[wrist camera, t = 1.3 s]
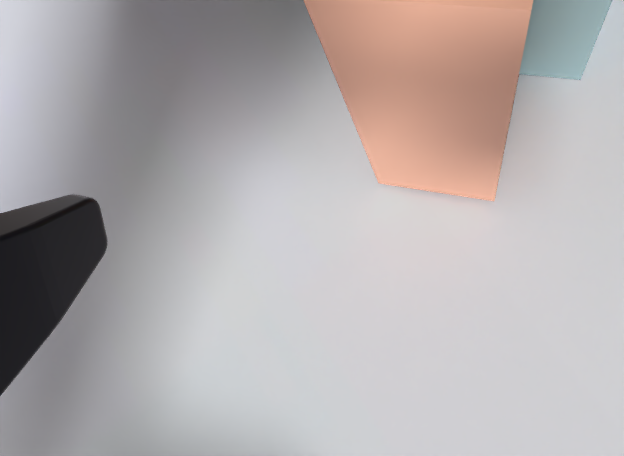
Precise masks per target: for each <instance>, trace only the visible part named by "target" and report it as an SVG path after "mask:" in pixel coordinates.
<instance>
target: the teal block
mask: <svg viewBox="0 0 624 456" xmlns="http://www.w3.org/2000/svg"><path fill="white" fill-rule="evenodd" d="M611 2H612V0H533V5H532V10H531V15H530V20H529V26H528V31H527V36H526V41H525V46H524V51H523V56H522V61H521V67H520V72H519V74H525V75H535V76H546V77H556V78H567V79H577V80H580V79H581V77H582V74H583V72H584V69H585V67H586V64H587V62H588V59H589V57H590V54H591V52H592V49H593V47H594V45H595V42H596V40H597V37H598V35H599V32H600V30H601V27H602V25H603V22H604V20H605V17H606V15H607V12H608V10H609V7H610V5H611Z"/></svg>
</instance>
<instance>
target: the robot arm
mask: <svg viewBox="0 0 624 456" xmlns="http://www.w3.org/2000/svg"><path fill="white" fill-rule="evenodd" d="M106 248H107V236H106V232H105V227H104V223H103V218H102V214H101V209H100V206H99V204H98V203H97V201H96V200H94V199H93V198H89V197H85V196H80V195H67V196H63V197H60V198H56V199H52V200H48V201H45V202H41V203H37V204H34V205H30V206H26V207H22V208H19V209H15V210H11V211H8V212H4V213H0V396H1V395H2V393H3V392H4V391H5V390H6V389H7V387H8V386H9V385H10V384H11V382H12V381H13V380H14V379H15V377H16V376H17V375H18V374H19V372H20V371H21V370H22V369H23V367H24V366H25V365H26V364H27V363H28V361H29V360H30V359H31V358H32V356H33V355H34V354H35V353H36V351H37V350H38V349H39V348H40V346H41V345H42V344H43V343H44V342H45V340H46V339H47V338H48V337H49V335H50V334H51V333H52V331H53V330H54V329H55V327H56V326H57V325H58V323H59V322H60V321H61V319H62V318H63V316H64V315H65V313H66V312H67V310H68V309H69V307H70V306H71V304H72V303H73V301H74V300H75V298H76V297H77V295H78V294H79V292H80V291H81V289H82V288H83V286H84V284H85V283H86V281H87V280H88V278H89V277H90V275H91V274H92V272H93V271H94V269H95V268H96V266H97V265H98V263H99V262H100V260H101V259H102V257H103V255H104V254H105V251H106Z"/></svg>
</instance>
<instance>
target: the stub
mask: <svg viewBox="0 0 624 456" xmlns="http://www.w3.org/2000/svg"><path fill="white" fill-rule="evenodd" d="M304 3H305V5H306V8H307V10H308V13H309V15H310V17H311V20H312V22H313V25H314V27H315V30H316V32H317V34H318V37H319V39H320V42H321V44H322V47H323V49H324V51H325V54H326V56H327V59H328V61H329V64H330V66H331V68H332V71H333V73H334V76H335V78H336V81H337V83H338V85H339V88H340V90H341V93H342V95H343V98H344V100H345V103H346V105H347V107H348V110H349V112H350V115H351V117H352V120H353V122H354V124H355V127H356V129H357V132H358V134H359V137H360V139H361V141H362V144H363V146H364V149H365V151H366V154H367V156H368V158H369V161H370V163H371V166H372V168H373V171H374V173H375V175H376V178H377V180H378V183H380V184H387V185H393V186H400V187H406V188H412V189H419V190H425V191H432V192H438V193H445V194H451V195H458V196H464V197H470V198H477V199H483V200H490V201H494V200H495V195H496V190H497V185H498V180H499V174H500V169H501V164H502V159H503V154H504V149H505V144H506V138H507V133H508V128H509V123H510V118H511V113H512V108H513V103H514V97H515V92H516V87H517V82H518V77H519V72H520V67H521V61H522V56H523V51H524V46H525V41H526V36H527V31H528V26H529V20H530V15H531V10H532V5H533V0H304Z"/></svg>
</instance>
